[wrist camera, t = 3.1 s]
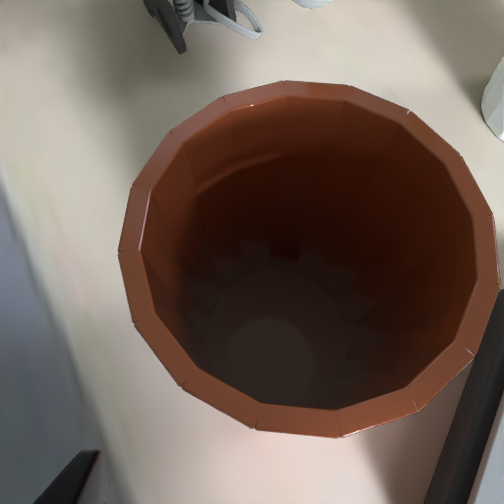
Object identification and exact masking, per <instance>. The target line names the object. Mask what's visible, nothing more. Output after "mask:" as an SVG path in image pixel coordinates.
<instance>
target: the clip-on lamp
mask: <svg viewBox="0 0 504 504" xmlns="http://www.w3.org/2000/svg"><path fill="white" fill-rule="evenodd" d="M143 1H144V4H145V6H146V8H147V10H148V12H149V13H150V15H151V16H152V17H154V16H156V18H157V20H158V21H159V23H160V24H161V26H162V28H163V29H164V31H165V32H166V34H167V36H168V37H169V39H170V40H171V42H172V44H173V45H174V47H175V48H176V50H177V52H178V53H179V54H182V53H184V52H186V51H187V48H186V44H185V41H184V38H183V37H184V35H185V32H186V29H187V27H188V24H192V23H194V22H197V23H209V24H221V25H224V26H226V27H228V28H229V29H231V30H233V31H235V32H237V33H239V34H241V35H243V36H245V37H248V38H251V39H258V38H259V37H260V36H261V35H262V34H263V30H262V27H261V25H260V23H259V21H258V20H257V18H256V17H255V15H254V14H253V13H252V11H251V10H250V9H249V8H248V7H247V6H246V5H245V4H244V3H242V2H241V1H238V0H173V4H174V6H175V10H176V12H174V10H173V8H172V6H171V5H170V3H169V1H168V0H143ZM292 1H294V2H295V3H297V4H298V5H300V6H301V7H304V8H310V9H312V8H318V7H322V6H324V5H326V4H328V3H330V2H331V1H332V0H292ZM235 10H237V11H240V12H241V13H242V14H244V16H245V17H246V18H247V19H248V20H249V21H250V23H251V24H252V26H253V27H254V29H255V31H256V32H255V31H252V30H250V29H248V28H246V27H244V26H242V25H240V24H238V23H236V13H235Z"/></svg>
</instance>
